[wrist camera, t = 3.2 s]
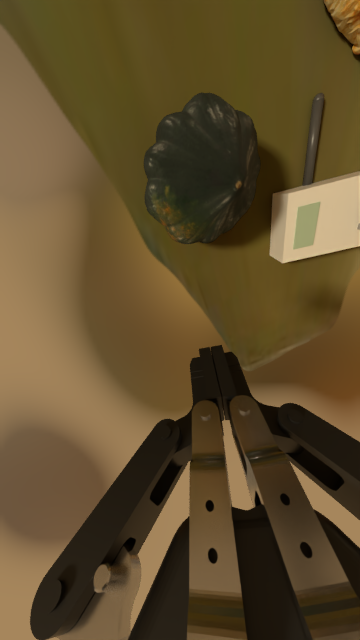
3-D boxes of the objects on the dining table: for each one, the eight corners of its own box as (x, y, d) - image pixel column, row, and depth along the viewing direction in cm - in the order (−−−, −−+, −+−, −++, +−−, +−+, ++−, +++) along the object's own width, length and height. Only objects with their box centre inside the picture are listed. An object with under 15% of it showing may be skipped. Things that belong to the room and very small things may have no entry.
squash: (102, 161, 23) (157, 238, 18) (192, 24, 18) (306, 77, 13) (164, 223, 35) (208, 279, 30) (228, 152, 30) (292, 205, 25)
